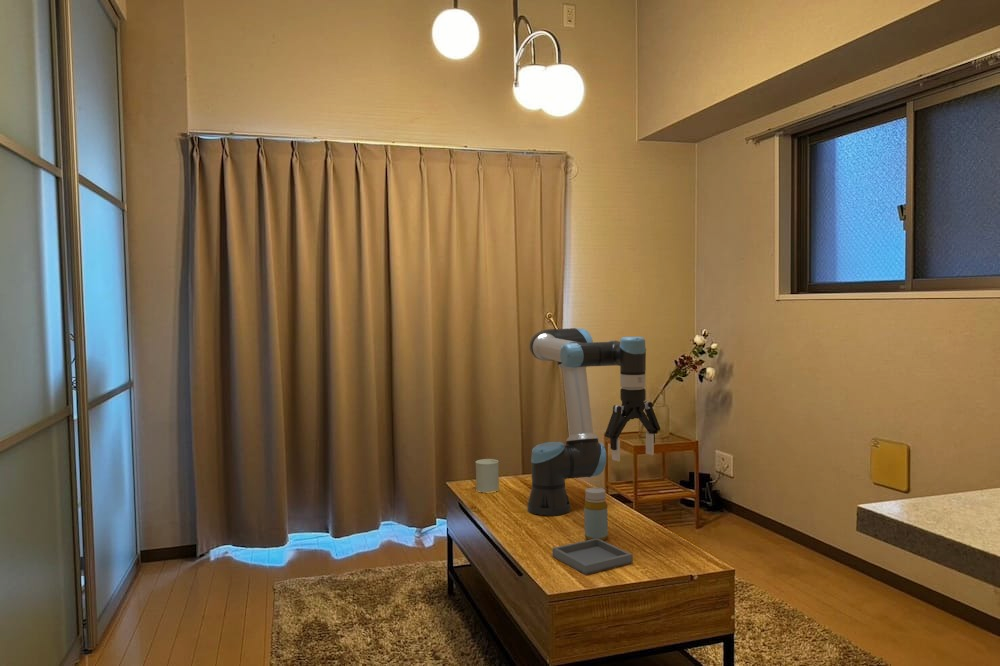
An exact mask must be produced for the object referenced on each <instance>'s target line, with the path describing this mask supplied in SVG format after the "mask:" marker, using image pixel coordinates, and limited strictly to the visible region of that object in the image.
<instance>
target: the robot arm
mask: <svg viewBox="0 0 1000 666" xmlns="http://www.w3.org/2000/svg"><path fill="white" fill-rule="evenodd" d="M529 351H530V353H531V355H532V356H533V357H534V358H535V359H537V360H540V361H545V362H546V361H549V362H557V366H558V368H560V369H561V370H562V376H563V377H562V378H563V385H564V386H563V387H564V395H565V405H566V415H567V424H568V425H567V427H568V433H569V435H568V437H567V438H566V440H565V444H564V442H562V441H548V442H541V443H539V444H536V446H534V447H533V448H532V450H531V458H530V462H531V490H530V494H529V496H528V497H529V498H528V501H527V508H526V509H527V512H529V511H530V512H532V513H531V514H533V513H534V515H536V514H539V515H538V516H543V515H546V516H547V517H549V516H550V517H552V516H553V517H554V516H555V517H556V516H560V515H564V514H567V513H569V512H570V511H571V502H570V499H569V496H568V493H567V490H566V480H569V479H580V478H581V479H582V478H592V477H595V476H596V477H597V476H598V477H599V476H600V475H601V474H602V473H603V472H604V469H605V468H606V464H607V451H606V450H607V449H606V448H605V445H604V444H603V443H602V442H599V438H598V436H596V434H594V430H593V429H594V428H593V420H592V419H593V418H592V411H591V401H590V394H589V393H590V392H589V385H588V384H589V383H588V374H587V368H590V367H609V366H619V368H620V370H619V371H620V374H619V376H620V377H619V378H620V379H619V380H620V382H619V383H620V384H619V386H620V387H621V388H620V392H619V393H620V396H619V397H620V401H621V405H615V404H614V405H613V407H612V413H611V417H610V419H609V422H608V424H607V427H606V430H605V432H604V437H606V438H608V439H610V442H609V443H610V450H611V460H612V461H616V462H620V461H621V439H619V437H620V436H621V433H622V431H624V429H625V427H626V425H627V424H628V422H630V420H635V419H639V421H640V423H641V424H642V425H643V427H644V428H645V429H646V431H647V432H645V454H646V455H649V456H654V454H655V453H654V452H655V451H654V450H655V449H654V446H655V443H656V435H657V434H658V433H659V431H660V430H661V426H660V424H659V421H658V418H657V416H656V414H655V411H654V407H653V402H651V401H648V400H647V401H646V398H647V397H646V396H647V391H646V388H645V387H646V382H647V379H646V377H647V376H646V375H647V373H646V371H647V370H646V363H647V361H646V360H647V359H646V355H647V354H646V353H647V348H646V339H645V338H644V337H643V336H623V337H621V338H620V341H619V340H608V341H597V342H596V341H595V342H594V340H593V337H592V335H591V334H590V332H589V331H588V330H586V329H584V328H577V327H573V328H556V329H555V328H554V329H553V328H549V329H548V328H547V329H543V330H541V331H538V332H537V333H535V334H534V335H533V336H531V339H530V342H529ZM530 512H529V513H530ZM546 516H545V517H546Z"/></svg>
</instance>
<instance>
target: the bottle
mask: <svg viewBox="0 0 1000 666" xmlns="http://www.w3.org/2000/svg"><path fill="white" fill-rule="evenodd" d="M606 492H607V491H606V489H605V488H602V487H589V488H586V489H585V502H584V505H583V506H584V508H583V509H584V537H585V538H586V540H591V539H596V538H598V539H601V540H603V541H606V540H607V539H608V536H609V535H608V534H609V533H608V532H609V531H608V529H609V528H608V503H607V501H606V499H607V496H606V495H607V493H606Z"/></svg>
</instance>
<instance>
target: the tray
mask: <svg viewBox="0 0 1000 666" xmlns="http://www.w3.org/2000/svg"><path fill="white" fill-rule="evenodd" d="M552 558H554V559H556V560H558V561H559V562H562V563H563V564H565V565H567V566H568V567H571V568H573V570H576V571H578V572H580V573H581V574H583V575H585V576H587V575H592V574H596V573H598V572H603V571H607V570H610V569H611V570H612V569H615V567H616V568H619V567H623V565H624V566H627V564H628V565H631V564H630V563H632V564H634V563H633V558H634V557H633V553H631V552H628V551H626V550H625V549H622V548H619V547H618V546H615V545H613V544H611V543H609V542H606V540H604V541H603V540H601V539H598V538H596V539H591V540H587V539H586V540H584V541H583V540H581V541H578V542H574V543H569V544H563V545H560V546H556V547H552Z"/></svg>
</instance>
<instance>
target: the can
mask: <svg viewBox="0 0 1000 666" xmlns="http://www.w3.org/2000/svg"><path fill="white" fill-rule="evenodd" d="M499 475H500V473H499V460H498V459H493V458H484V459H482V458H481V459H478V460H476V461H475V479H476V480H475V491H476V490H477V491H480V492H491V491H496V490H498V489H499V490H500V485H499V483H500V482H499V478H500V477H499ZM477 491H476V492H477Z"/></svg>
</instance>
